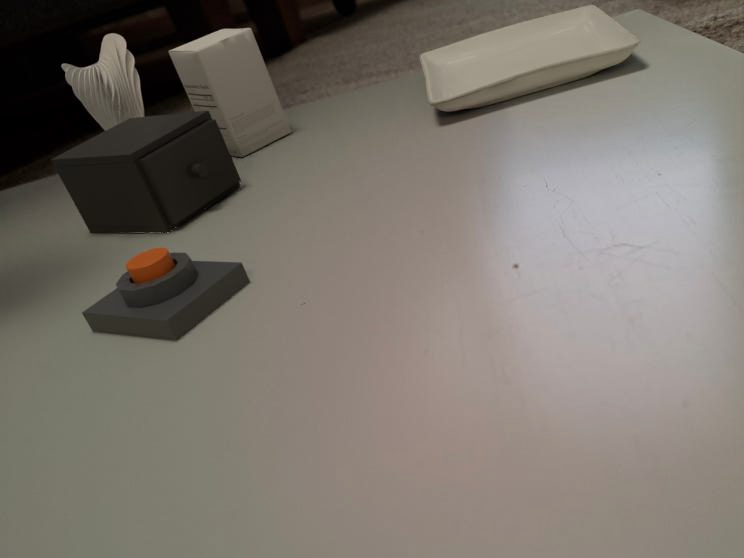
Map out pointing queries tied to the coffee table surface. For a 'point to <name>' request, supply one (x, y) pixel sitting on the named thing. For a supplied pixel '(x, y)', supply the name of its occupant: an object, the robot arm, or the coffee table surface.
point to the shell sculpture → (108, 84)
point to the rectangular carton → (232, 88)
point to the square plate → (524, 58)
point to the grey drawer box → (124, 174)
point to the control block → (167, 299)
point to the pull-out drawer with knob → (190, 170)
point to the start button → (150, 265)
